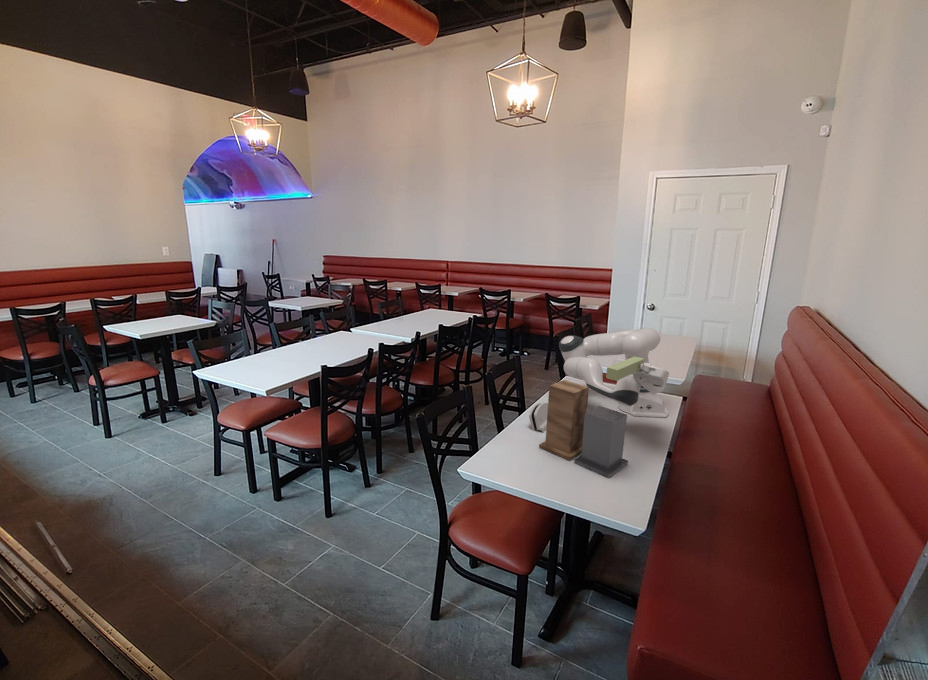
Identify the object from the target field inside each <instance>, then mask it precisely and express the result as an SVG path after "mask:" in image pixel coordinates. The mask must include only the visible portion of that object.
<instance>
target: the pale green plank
mask: <svg viewBox="0 0 928 680" xmlns="http://www.w3.org/2000/svg"><path fill="white" fill-rule="evenodd" d="M623 360H624V361H622V362H619V363H617V364H614V363H613V364H614V365H610V366H607V367H606V373H605V374H606V375H605V378H606V379H607V380H612V381H616V382H617V381H618V380H620V379H622V378H624V377H626V376H628V375H631V374H633V373H635V372H637V371H639V370H642V369H639V368H638V365H639V363H641V364H644V358H639V357H635V356H634V357H632V358H629V359H627V360H626V359H623Z"/></svg>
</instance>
